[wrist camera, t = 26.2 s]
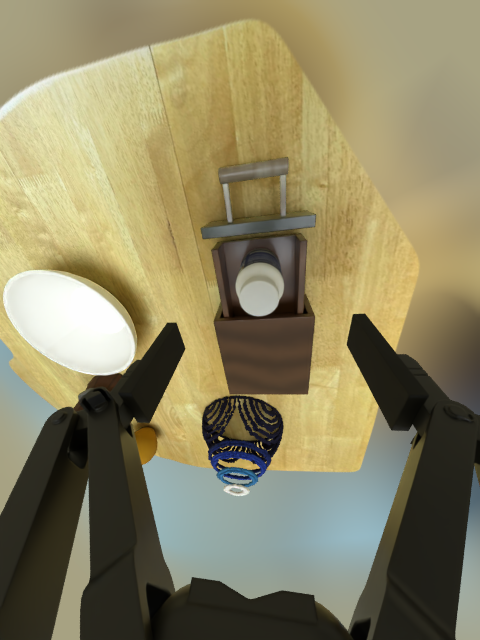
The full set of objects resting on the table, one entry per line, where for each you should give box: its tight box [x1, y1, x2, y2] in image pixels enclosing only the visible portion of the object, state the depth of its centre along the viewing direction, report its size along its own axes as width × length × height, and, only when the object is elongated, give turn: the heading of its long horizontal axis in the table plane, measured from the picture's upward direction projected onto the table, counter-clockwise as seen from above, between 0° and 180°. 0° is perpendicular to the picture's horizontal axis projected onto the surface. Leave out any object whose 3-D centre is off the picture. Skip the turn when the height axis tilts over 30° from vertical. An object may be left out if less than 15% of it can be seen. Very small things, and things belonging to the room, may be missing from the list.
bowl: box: [3, 269, 137, 375], centre depth 34 cm, size 20×20×7 cm
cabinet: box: [214, 295, 315, 394], centre depth 34 cm, size 16×14×7 cm
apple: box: [134, 427, 157, 465], centre depth 55 cm, size 9×9×9 cm
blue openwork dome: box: [202, 395, 283, 496], centre depth 46 cm, size 20×20×14 cm
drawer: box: [201, 157, 316, 318], centre depth 26 cm, size 20×12×5 cm, turn 7°
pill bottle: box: [236, 248, 284, 316], centre depth 24 cm, size 5×5×10 cm
